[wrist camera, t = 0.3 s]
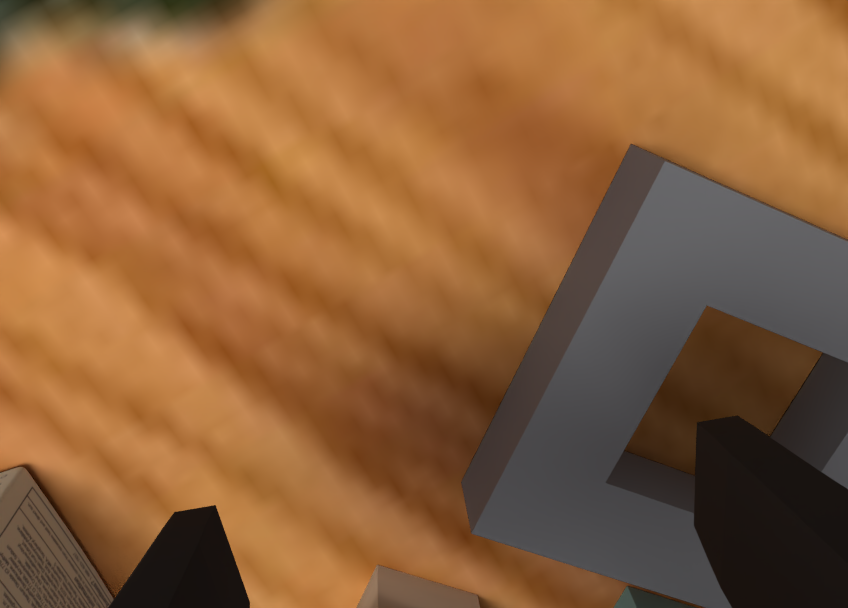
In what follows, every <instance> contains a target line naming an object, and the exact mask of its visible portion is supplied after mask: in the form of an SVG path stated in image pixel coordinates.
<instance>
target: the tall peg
mask: <svg viewBox="0 0 848 608" xmlns="http://www.w3.org/2000/svg"><path fill="white" fill-rule="evenodd" d="M614 608H696V607H693V606H689V605H686V604H683V603H680V602H677V601H674V600H670V599H667V598H664V597H661V596H658V595H655V594H651V593H648V592H645V591H642V590H639V589H636V588H632V587H629V586H627V587H626V588H625V590H624V592H623V593H622V595H621V596H620V598H619V600H618V601H617V603H616V605H615V606H614Z"/></svg>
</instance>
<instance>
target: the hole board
mask: <svg viewBox="0 0 848 608" xmlns="http://www.w3.org/2000/svg"><path fill="white" fill-rule="evenodd" d="M706 306H710V307H712V308H715V309H717V310H719V311H722V312H724V313H727V314H729V315H732V316H734V317H737V318H739V319H742V320H744V321H747V322H749V323H752V324H754V325H756V326H759V327H761V328H764V329H766V330H769V331H771V332H774V333H776V334H779V335H781V336H784V337H786V338H789V339H791V340H794V341H796V342H798V343H801V344H803V345H806V346H808V347H811V348H813V349H816V350H818V351H821V352H823V355H822V356H821V358H820V359H819V361H818V363H817V364H816V366H815V367H814V369H813V370H812V372H811V374H810V375H809V377H808V378H807V380H806V381H805V383H804V385H803V386H802V388H801V389H800V391H799V392H798V394H797V396H796V397H795V399H794V400H793V402H792V403H791V405H790V407H789V408H788V410H787V411H786V413H785V414H784V416H783V418H782V419H781V421H780V422H779V424H778V425H777V427H776V429H775V430H774V432H773V433H772V435H771V436H770V438H772V439H773V440H775V441H776V442H778V443H779V444H781V445H782V446H784V447H785V448H787V449H788V450H789V451H791V452H792V453H794V454H795V455H797V456H798V457H800V458H801V459H803V460H804V461H806V462H807V463H809V464H810V465H812V466H813V467H815V468H816V469H818V470H819V471H821V472H822V473H824V474H825V475H827V476H828V477H830V478H831V479H833V480H834V481H836V482H838V483H839V484H841V485H842V486H844V487H845V488H847V489H848V240H847V239H845V238H843V237H840V236H838V235H836V234H834V233H831V232H829V231H827V230H825V229H822V228H820V227H818V226H816V225H813V224H811V223H809V222H806V221H804V220H802V219H800V218H797V217H795V216H793V215H791V214H788V213H786V212H784V211H782V210H779V209H777V208H775V207H773V206H770V205H768V204H766V203H764V202H761V201H759V200H757V199H754V198H752V197H750V196H748V195H745V194H743V193H741V192H739V191H736V190H734V189H732V188H730V187H727V186H725V185H723V184H721V183H718V182H716V181H714V180H712V179H709V178H707V177H705V176H702V175H700V174H698V173H696V172H693V171H691V170H689V169H687V168H684V167H682V166H680V165H678V164H675V163H673V162H671V161H669V160H666V159H664V158H662V157H660V156H657V155H655V154H653V153H650V152H648V151H646V150H644V149H641V148H639V147H637V146H635V145H632V144H631V145H630V147H629V149H628V151H627V153H626V155H625V157H624V159H623V161H622V163H621V165H620V167H619V169H618V171H617V173H616V175H615V177H614V179H613V181H612V183H611V185H610V187H609V189H608V191H607V193H606V195H605V197H604V199H603V201H602V203H601V205H600V207H599V209H598V211H597V213H596V215H595V217H594V219H593V221H592V223H591V225H590V227H589V229H588V231H587V233H586V235H585V237H584V239H583V241H582V243H581V245H580V247H579V249H578V251H577V253H576V255H575V257H574V259H573V261H572V263H571V265H570V267H569V269H568V271H567V273H566V275H565V277H564V279H563V281H562V283H561V285H560V287H559V289H558V290H557V292H556V294H555V296H554V298H553V300H552V302H551V304H550V306H549V308H548V310H547V312H546V314H545V316H544V318H543V320H542V322H541V324H540V326H539V328H538V330H537V332H536V334H535V336H534V338H533V340H532V342H531V344H530V346H529V348H528V350H527V352H526V354H525V356H524V358H523V360H522V362H521V364H520V366H519V368H518V370H517V372H516V374H515V376H514V378H513V380H512V382H511V384H510V386H509V388H508V390H507V392H506V394H505V396H504V398H503V400H502V402H501V404H500V406H499V408H498V410H497V412H496V414H495V416H494V418H493V420H492V422H491V424H490V426H489V428H488V430H487V432H486V434H485V436H484V438H483V440H482V442H481V444H480V446H479V448H478V450H477V452H476V454H475V456H474V458H473V460H472V462H471V464H470V466H469V468H468V470H467V472H466V474H465V476H464V478H463V480H462V482H461V483H462V488H463V493H464V498H465V503H466V509H467V514H468V519H469V524H470V529H471V534H474V535H478V536H481V537H484V538H487V539H490V540H493V541H497V542H500V543H503V544H506V545H509V546H512V547H516V548H519V549H522V550H525V551H528V552H531V553H535V554H538V555H541V556H544V557H547V558H550V559H554V560H557V561H560V562H563V563H566V564H569V565H572V566H576V567H579V568H582V569H585V570H588V571H591V572H595V573H598V574H601V575H604V576H607V577H610V578H614V579H617V580H620V581H623V582H626V583H629V584H633V585H636V586H639V587H642V588H645V589H648V590H652V591H655V592H658V593H661V594H664V595H667V596H670V597H674V598H677V599H680V600H683V601H686V602H689V603H693V604H696V605H699V606H702V607H705V608H732V607H731V605H730V603H729V602H728V600H727V598H726V596H725V595H724V593H723V591H722V589H721V588H720V585H719V583H718V581H717V579H716V576H715V574H714V572H713V570H712V567H711V565H710V563H709V561H708V558H707V556H706V553H705V551H704V549H703V546H702V544H701V541H700V539H699V537H698V534H697V532H696V529H695V527H694V499H695V476H694V475H691V474H688V473H685V472H683V471H680V470H677V469H674V468H671V467H668V466H666V465H663V464H660V463H657V462H654V461H651V460H649V459H646V458H643V457H640V456H637V455H634V454H632V453H629V452H626V451H624V449H625V448H626V446H627V444H628V442H629V441H630V439H631V437H632V435H633V434H634V432H635V430H636V428H637V427H638V425H639V423H640V421H641V420H642V418H643V416H644V414H645V413H646V411H647V409H648V407H649V406H650V404H651V402H652V400H653V399H654V397H655V395H656V393H657V392H658V390H659V388H660V386H661V385H662V383H663V381H664V379H665V378H666V376H667V374H668V372H669V371H670V369H671V367H672V365H673V364H674V362H675V360H676V358H677V357H678V355H679V353H680V351H681V350H682V348H683V346H684V344H685V343H686V341H687V339H688V337H689V336H690V334H691V332H692V330H693V329H694V327H695V325H696V323H697V322H698V320H699V318H700V316H701V315H702V313H703V311H704V309H705V308H706Z"/></svg>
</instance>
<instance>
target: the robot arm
mask: <svg viewBox="0 0 848 608" xmlns="http://www.w3.org/2000/svg"><path fill="white" fill-rule="evenodd" d="M694 527H695V529H696V532H697V534H698V537H699V539H700V541H701V544H702V546H703V549H704V551H705V553H706V556H707V558H708V561H709V563H710V565H711V567H712V570H713V572H714V574H715V576H716V579H717V581H718V583H719V585H720V588H721V589H722V591H723V593H724V595H725V596H726V598H727V600H728V602H729V603H730V605H731V607H732V608H848V489H847V488H845V487H844V486H842V485H841V484H839V483H838V482H836V481H834V480H833V479H831V478H830V477H828V476H827V475H825V474H824V473H822V472H821V471H819V470H818V469H816V468H815V467H813V466H812V465H810V464H809V463H807V462H806V461H804V460H803V459H801V458H800V457H798V456H797V455H795V454H794V453H792V452H791V451H789V450H788V449H787V448H785V447H784V446H782V445H781V444H779V443H778V442H776V441H775V440H773V439H772V438H770V437H769V436H767V435H766V434H765V433H763V432H762V431H760V430H759V429H757V428H756V427H754V426H753V425H751V424H750V423H748V422H747V421H745V420H744V419H742V418H740V417H739V416H732V417H726V418H720V419H714V420H708V421H702V422H697V435H696V467H695V499H694ZM108 608H250V601H249V599H248V596H247V593H246V590H245V587H244V585H243V582H242V579H241V576H240V573H239V570H238V568H237V565H236V562H235V559H234V556H233V553H232V551H231V548H230V545H229V542H228V539H227V537H226V534H225V531H224V528H223V525H222V522H221V520H220V517H219V514H218V511H217V508H216V505H214V506H208V507H202V508H197V509H191V510H185V511H179V512H174V514H173V515H172V516H171V518H170V519H169V520H168V522H167V523H166V525H165V526H164V527H163V529H162V530H161V532H160V533H159V535H158V536H157V538H156V539H155V540H154V542H153V543H152V545H151V546H150V548H149V549H148V551H147V552H146V554H145V555H144V557H143V558H142V560H141V561H140V563H139V564H138V565H137V567H136V568H135V570H134V571H133V573H132V574H131V576H130V577H129V579H128V580H127V581H126V583H125V584H124V586H123V587H122V589H121V590H120V592H119V593H118V594H117V596H116V597H115V599H114V600H113V601H112V603H111V604H110V605H109V607H108Z"/></svg>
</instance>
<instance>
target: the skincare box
mask: <svg viewBox="0 0 848 608" xmlns="http://www.w3.org/2000/svg"><path fill="white" fill-rule="evenodd" d="M113 600H114V599H113V597H112V596H111V594H110V592H109V591H108V589H107V588H106V586H105V585H104V583H103V581H102V580H101V578H100V576H99V575H98V573H97V572H96V570H95V569H94V567H93V566H92V565H91V563H90V561H89V560H88V558H87V557H86V555H85V554H84V552H83V551H82V549H81V548H80V546H79V545H78V543H77V542H76V540H75V539H74V537H73V536H72V534H71V533H70V531H69V530H68V528H67V527H66V525H65V524H64V522H63V521H62V520H61V518H60V517H59V515H58V514H57V512H56V511H55V509H54V508H53V507H52V505H51V504H50V502H49V501H48V499H47V498H46V496H45V495H44V494H43V493H42V491H41V490H40V488H39V487H38V485H37V484H36V482H35V481H34V480H33V478H32V477H31V475H30V474H29V472H28V471H27V470H26V469H25V468H23V467H17V468H14V469H11V470H8V471H5V472H2V473H0V608H108V607H109V605H110V604H111V603H112V601H113Z"/></svg>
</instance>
